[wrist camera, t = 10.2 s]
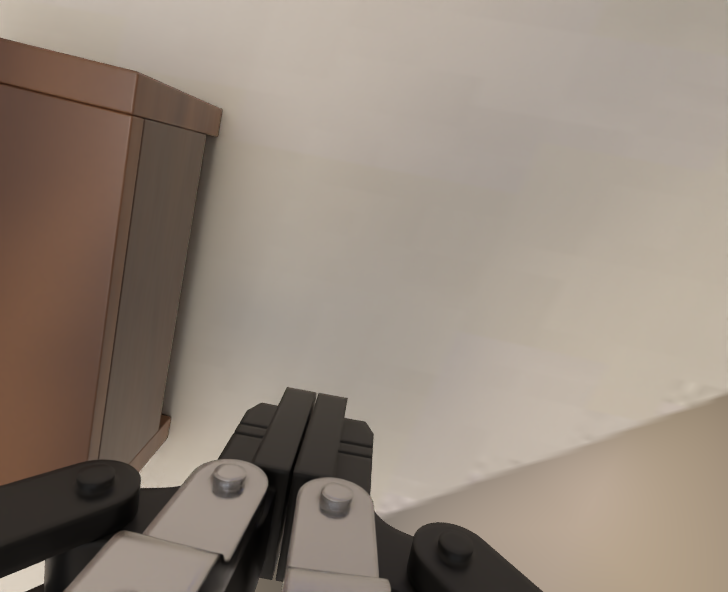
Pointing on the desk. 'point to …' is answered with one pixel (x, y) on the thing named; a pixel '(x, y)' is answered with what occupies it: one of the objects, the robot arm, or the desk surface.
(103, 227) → the small wooden shelf
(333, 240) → the desk surface
